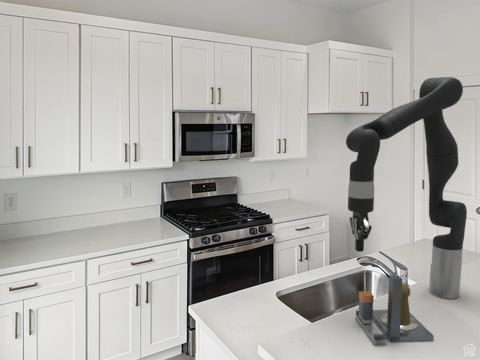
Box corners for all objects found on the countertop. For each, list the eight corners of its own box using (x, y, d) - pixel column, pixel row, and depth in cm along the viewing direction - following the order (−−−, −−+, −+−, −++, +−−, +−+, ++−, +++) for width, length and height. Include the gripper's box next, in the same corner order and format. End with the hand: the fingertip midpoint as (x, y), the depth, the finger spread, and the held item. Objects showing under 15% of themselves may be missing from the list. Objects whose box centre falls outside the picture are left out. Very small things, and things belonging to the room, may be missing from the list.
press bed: (368, 314, 121) (370, 259, 118) (406, 313, 121) (408, 258, 119) (390, 342, 105) (393, 278, 103) (433, 340, 105) (437, 277, 103)
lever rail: (355, 318, 118) (355, 310, 118) (365, 318, 118) (365, 310, 118) (374, 345, 103) (374, 336, 103) (385, 345, 103) (385, 335, 103)
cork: (404, 315, 116) (406, 280, 114) (414, 325, 110) (416, 288, 108) (384, 316, 116) (386, 281, 114) (393, 326, 110) (395, 289, 108)
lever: (357, 315, 116) (357, 290, 115) (367, 315, 116) (368, 290, 115) (363, 323, 111) (363, 297, 110) (373, 323, 111) (374, 297, 110)
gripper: (382, 198, 110) (379, 257, 112) (365, 191, 123) (363, 244, 125) (356, 199, 110) (354, 257, 112) (342, 192, 123) (340, 244, 125)
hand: (359, 250), depth 118 cm, fingers closed
